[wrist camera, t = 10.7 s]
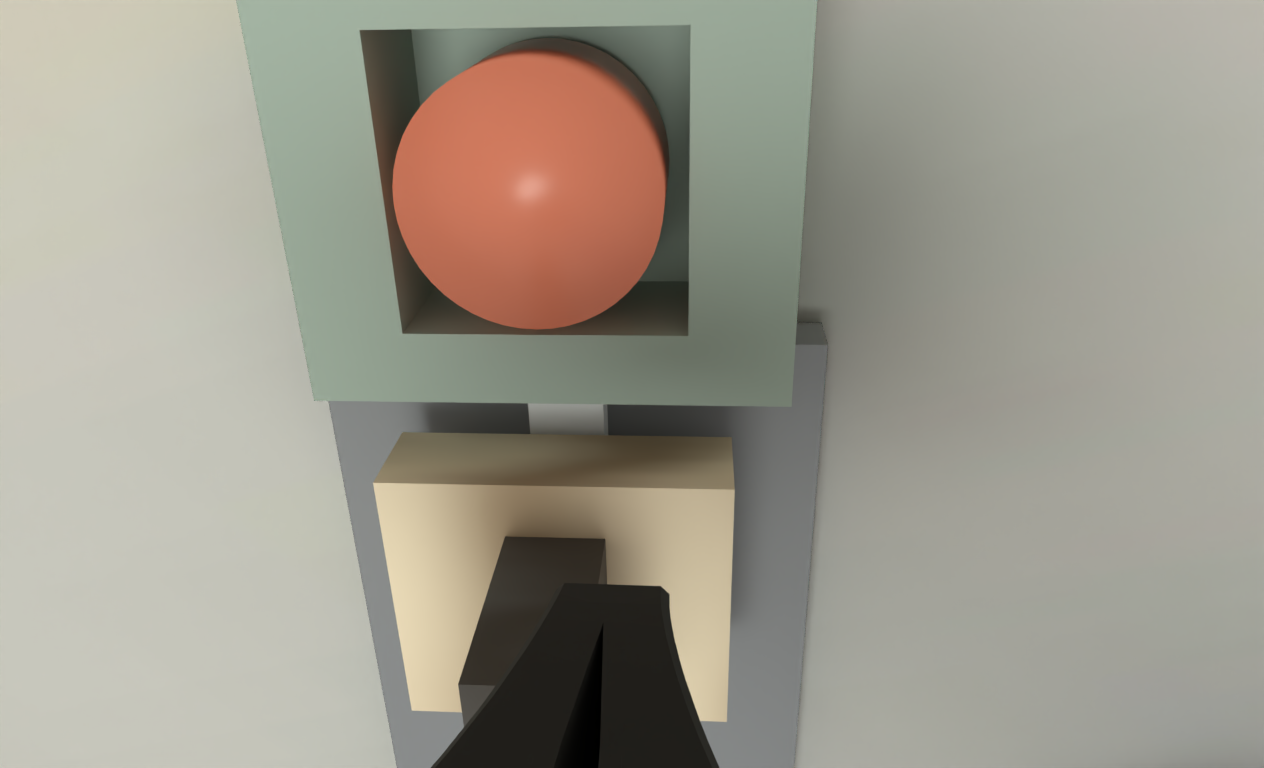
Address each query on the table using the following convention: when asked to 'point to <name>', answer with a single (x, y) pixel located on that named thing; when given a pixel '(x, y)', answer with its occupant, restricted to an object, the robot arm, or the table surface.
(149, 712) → the table surface
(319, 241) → the green button housing
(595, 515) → the carriage
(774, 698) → the track
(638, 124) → the button
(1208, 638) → the table surface
